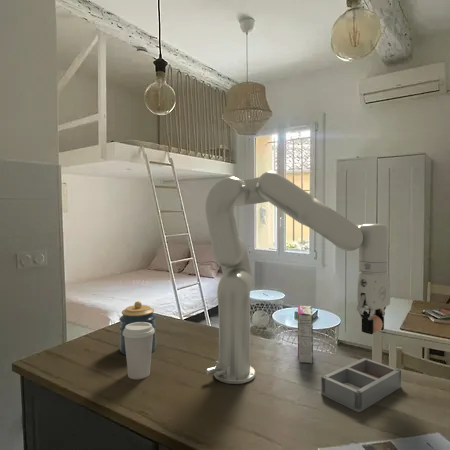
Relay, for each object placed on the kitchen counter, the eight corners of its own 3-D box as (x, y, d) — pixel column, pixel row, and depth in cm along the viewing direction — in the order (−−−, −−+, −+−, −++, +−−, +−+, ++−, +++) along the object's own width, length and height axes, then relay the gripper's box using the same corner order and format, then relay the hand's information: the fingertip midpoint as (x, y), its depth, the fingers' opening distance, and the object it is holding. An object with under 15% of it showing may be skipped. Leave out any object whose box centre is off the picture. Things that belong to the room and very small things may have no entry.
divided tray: (358, 412, 86) (359, 393, 86) (321, 394, 95) (321, 376, 95) (400, 387, 99) (401, 370, 99) (364, 373, 108) (364, 357, 108)
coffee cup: (161, 371, 109) (160, 323, 109) (141, 384, 100) (141, 332, 100) (136, 365, 113) (136, 319, 113) (115, 378, 104) (115, 328, 104)
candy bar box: (297, 350, 126) (297, 305, 126) (311, 351, 125) (311, 305, 125) (297, 362, 115) (297, 313, 115) (313, 364, 114) (313, 314, 114)
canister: (163, 347, 129) (163, 300, 128) (137, 359, 118) (137, 307, 117) (138, 340, 136) (138, 295, 135) (111, 351, 125) (111, 302, 124)
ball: (376, 336, 96) (376, 318, 96) (360, 331, 100) (360, 314, 100) (385, 332, 99) (386, 315, 99) (369, 328, 103) (369, 311, 103)
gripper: (369, 271, 91) (369, 341, 91) (400, 265, 101) (400, 328, 102) (343, 268, 97) (343, 333, 97) (376, 263, 107) (376, 322, 108)
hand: (372, 330), depth 99 cm, fingers closed on ball, 4 cm apart
